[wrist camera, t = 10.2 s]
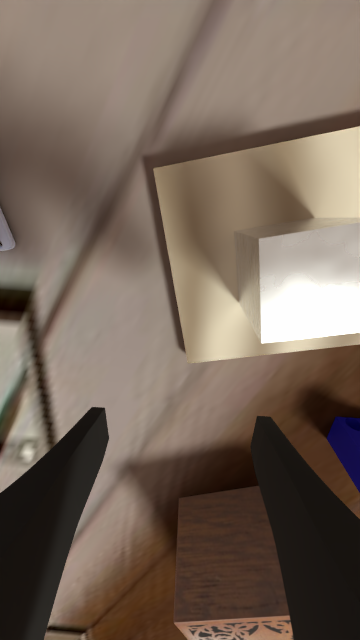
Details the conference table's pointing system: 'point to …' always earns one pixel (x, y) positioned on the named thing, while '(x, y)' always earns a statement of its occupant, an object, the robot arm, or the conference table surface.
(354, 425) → the cable clip
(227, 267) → the board
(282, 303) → the brushed grey cube
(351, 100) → the conference table surface
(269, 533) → the tissue box cover
